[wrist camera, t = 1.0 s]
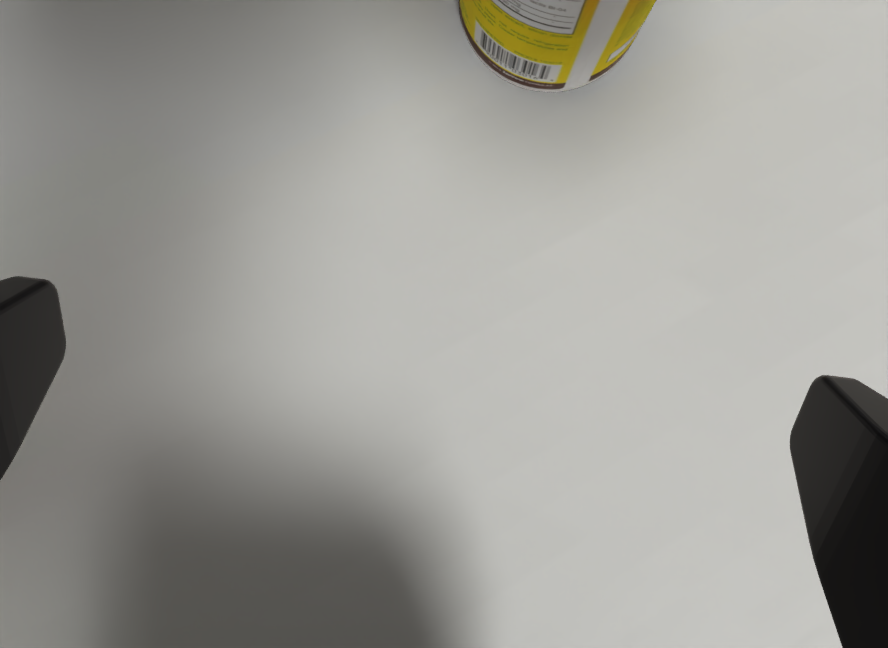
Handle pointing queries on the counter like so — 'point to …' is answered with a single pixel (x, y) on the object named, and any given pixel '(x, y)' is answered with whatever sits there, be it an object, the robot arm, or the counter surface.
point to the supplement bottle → (552, 38)
